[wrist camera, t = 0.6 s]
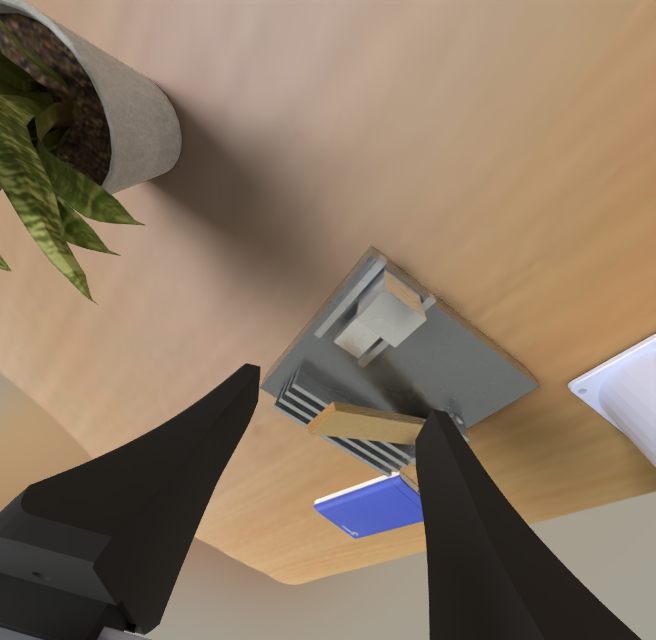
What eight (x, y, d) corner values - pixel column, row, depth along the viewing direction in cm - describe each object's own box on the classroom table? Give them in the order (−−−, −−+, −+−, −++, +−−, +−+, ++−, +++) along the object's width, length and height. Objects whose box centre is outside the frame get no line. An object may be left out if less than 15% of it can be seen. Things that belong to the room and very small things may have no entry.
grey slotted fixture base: (531, 364, 21) (559, 402, 18) (394, 451, 28) (396, 490, 25) (375, 240, 18) (375, 259, 15) (267, 372, 25) (251, 403, 22)
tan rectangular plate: (442, 422, 22) (446, 429, 22) (416, 438, 24) (419, 445, 23) (333, 401, 16) (335, 410, 16) (307, 424, 18) (308, 433, 17)
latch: (418, 294, 18) (426, 319, 15) (363, 347, 20) (361, 377, 17) (384, 267, 17) (385, 288, 14) (332, 325, 20) (324, 353, 17)
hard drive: (356, 540, 36) (443, 518, 31) (313, 509, 34) (399, 479, 29) (357, 527, 38) (441, 503, 32) (315, 495, 35) (398, 464, 30)
